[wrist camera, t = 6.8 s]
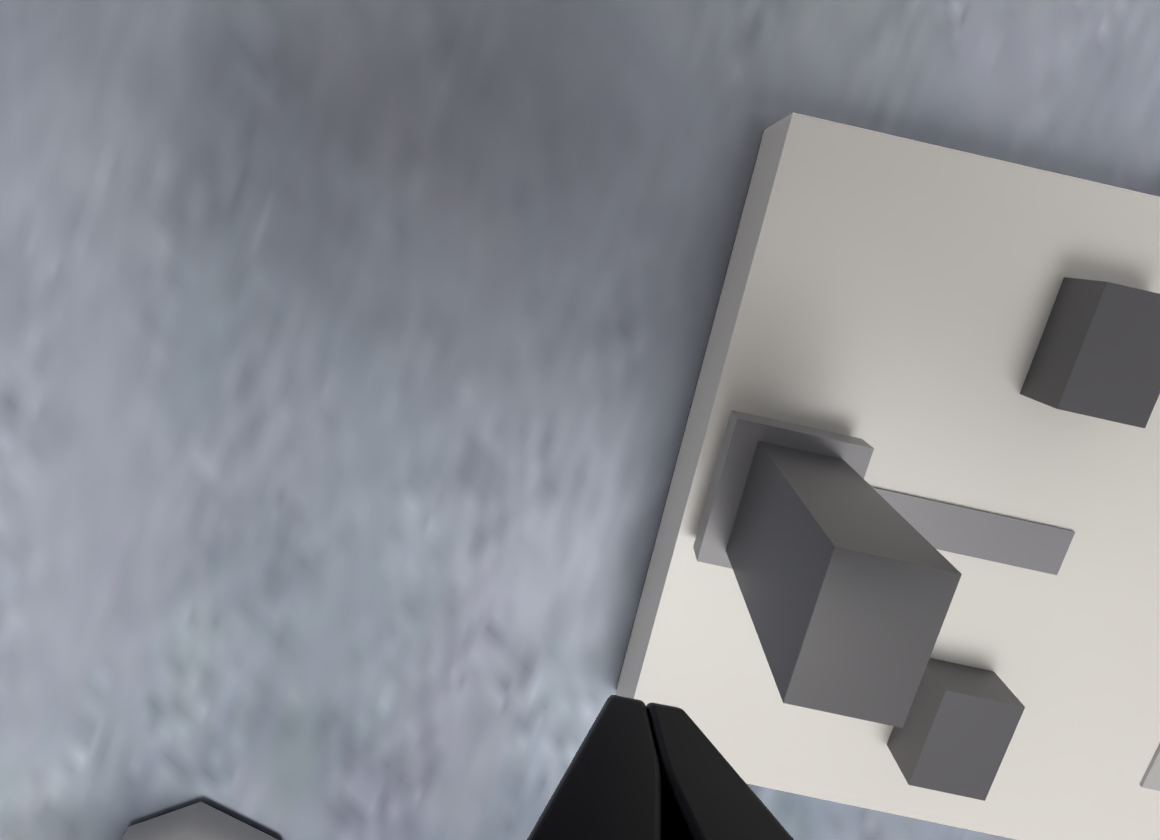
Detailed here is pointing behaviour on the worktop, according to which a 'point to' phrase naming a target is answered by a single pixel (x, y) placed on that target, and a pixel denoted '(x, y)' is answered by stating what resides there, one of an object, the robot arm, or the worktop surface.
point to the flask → (194, 826)
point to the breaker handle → (825, 568)
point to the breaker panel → (943, 478)
